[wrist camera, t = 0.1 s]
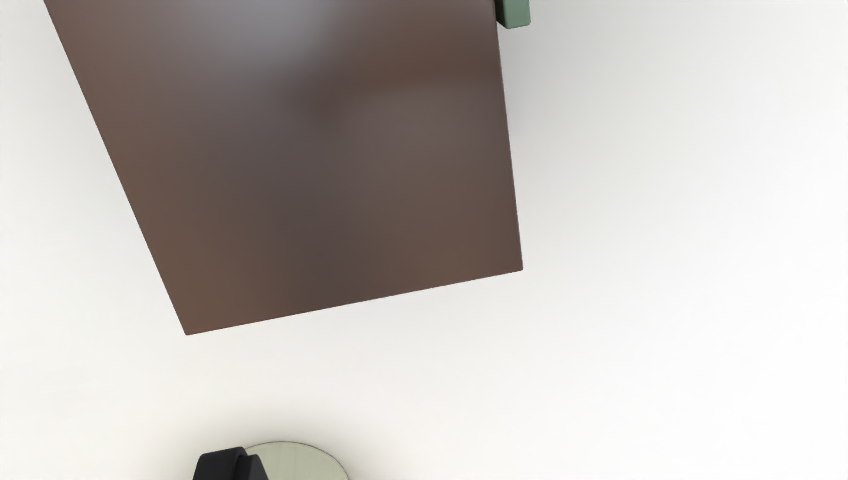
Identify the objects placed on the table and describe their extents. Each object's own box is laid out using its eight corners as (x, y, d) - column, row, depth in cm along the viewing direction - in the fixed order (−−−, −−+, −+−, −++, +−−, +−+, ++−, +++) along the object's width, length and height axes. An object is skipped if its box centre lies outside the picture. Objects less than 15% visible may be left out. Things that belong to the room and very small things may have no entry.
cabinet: (451, -228, 25) (520, -324, 15) (496, 148, 33) (563, 263, 22) (118, -166, 25) (-51, -216, 15) (240, 198, 33) (185, 337, 22)
